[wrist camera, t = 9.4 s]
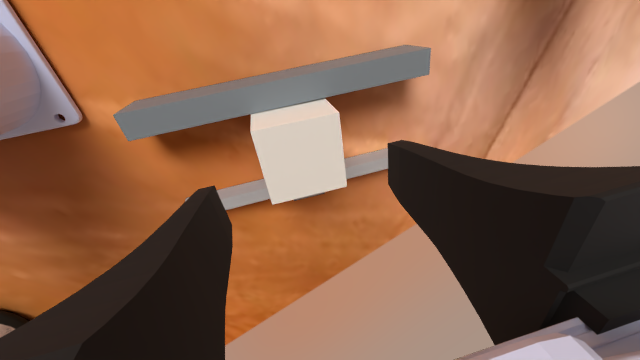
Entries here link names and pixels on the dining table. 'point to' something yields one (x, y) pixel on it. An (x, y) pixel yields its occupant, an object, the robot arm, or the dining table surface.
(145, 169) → the dining table surface
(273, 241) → the dining table surface
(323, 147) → the cabinet block
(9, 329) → the wine bottle
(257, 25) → the dining table surface
